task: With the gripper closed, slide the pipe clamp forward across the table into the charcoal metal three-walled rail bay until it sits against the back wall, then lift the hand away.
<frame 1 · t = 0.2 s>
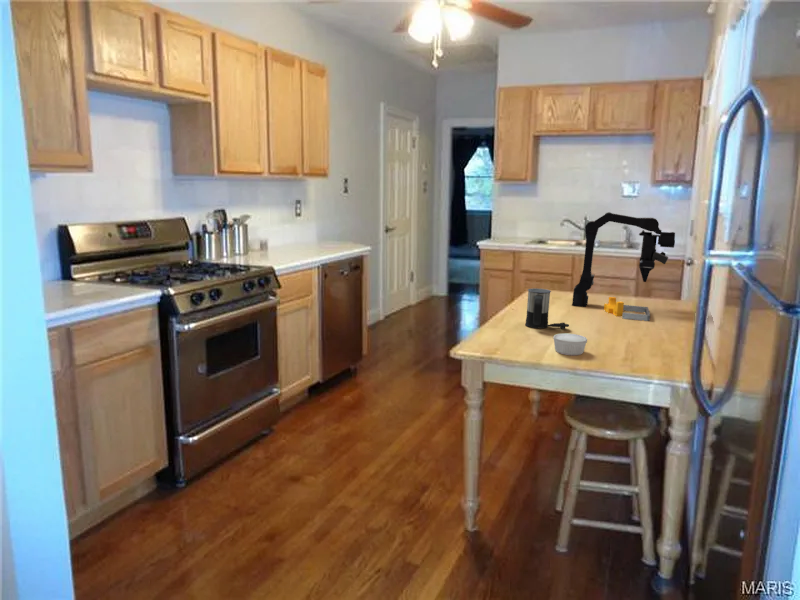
hand: (644, 280, 269), 14 cm above the table, tool pointing down, fingers open, 9 cm apart
ramekin: (568, 352, 206), on the table
milk frother: (546, 328, 238), on the table
rail bay: (633, 315, 263), on the table
pipe clamp: (612, 314, 266), on the table
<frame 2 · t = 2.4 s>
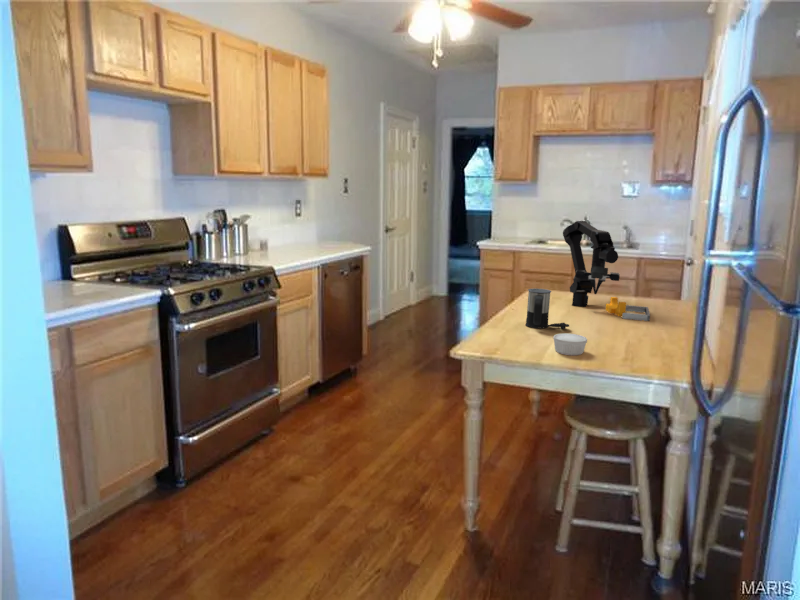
hand: (595, 294, 267), 8 cm above the table, tool pointing down, fingers closed
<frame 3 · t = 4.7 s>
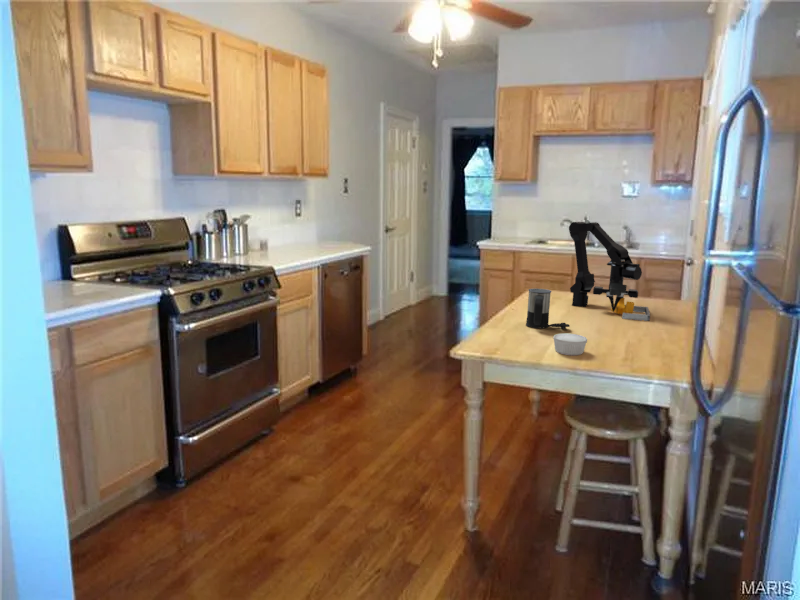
hand: (613, 310, 266), 1 cm above the table, tool pointing down, fingers closed
pipe clamp: (621, 314, 266), on the table, touching gripper
everything else where it was.
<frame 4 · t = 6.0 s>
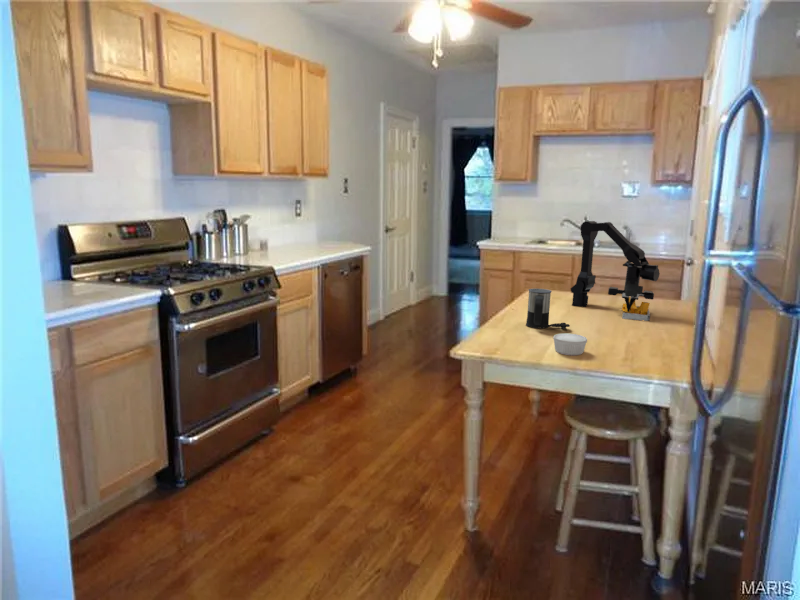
hand: (628, 312, 264), 1 cm above the table, tool pointing down, fingers closed
pipe clamp: (633, 314, 265), on the table, touching gripper, rail bay
everything else where it was.
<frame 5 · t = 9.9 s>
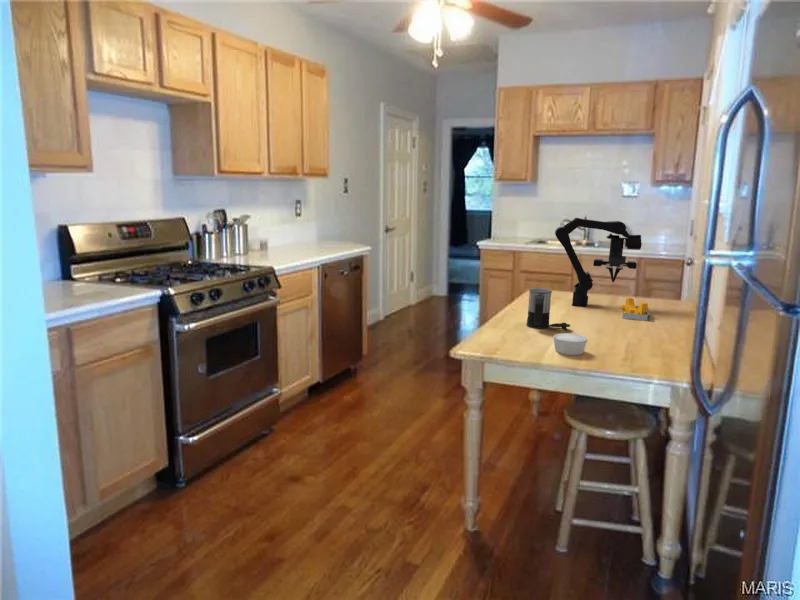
hand: (613, 282, 276), 12 cm above the table, tool pointing down, fingers closed
pipe clamp: (633, 315, 265), on the table
everything else where it was.
at the end: pipe clamp 2.7 cm from the target spot on the rail bay, point 0.0 cm above the rail bay's base; pipe clamp tilted 0°; pipe clamp moved 9.1 cm from its start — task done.
